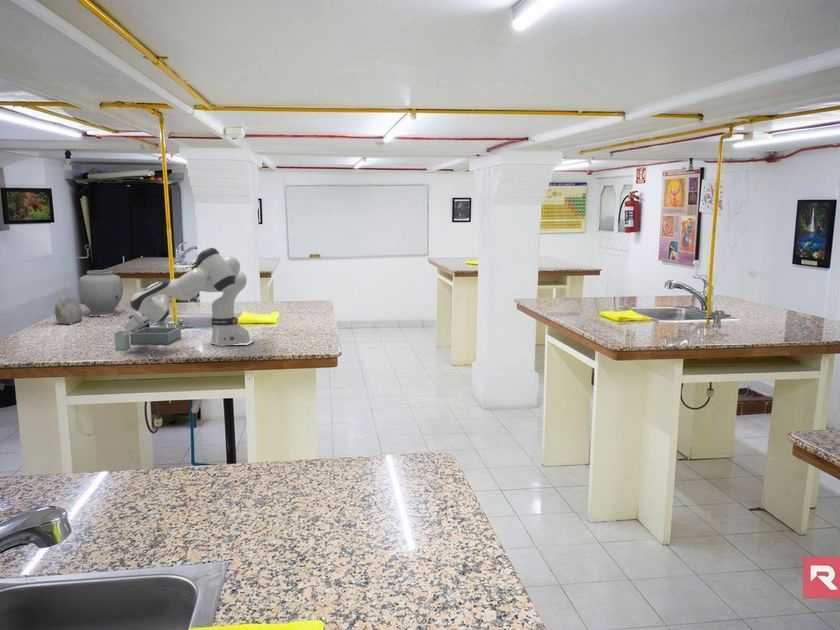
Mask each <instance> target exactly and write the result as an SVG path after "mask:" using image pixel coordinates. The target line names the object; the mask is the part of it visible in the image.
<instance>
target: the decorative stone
mask: <svg viewBox="0 0 840 630" xmlns="http://www.w3.org/2000/svg"><path fill="white" fill-rule="evenodd" d="M54 306H55V307H54V316H55V318H56V323H58V324H61V325H72V324H71V323H74V324H76V323H75V322H77V323H79V322H82V320H83V319H82V317H83V316H82V315H83V313H82V312H83V311H82V308H81V306H80V305H79V302H78V301H77V299H76V298H74V297H70V296H64V297H60V298H59V299H58V300H57V302H56V303H55V305H54ZM78 321H79V322H78Z"/></svg>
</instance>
